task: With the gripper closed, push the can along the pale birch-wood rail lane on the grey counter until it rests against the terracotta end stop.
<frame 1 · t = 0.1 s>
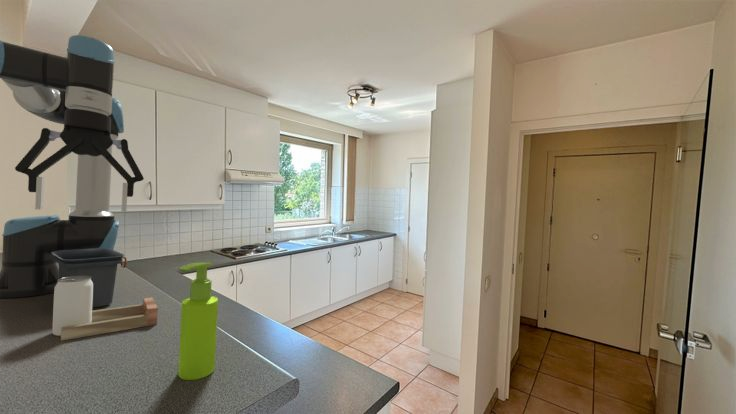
hand: (84, 210, 68), 28 cm above the countertop, fingers open, 13 cm apart
guide lane: (109, 324, 75), on the countertop
can: (72, 331, 71), on the countertop
soap dispenser: (194, 373, 57), on the countertop
storage bin: (90, 301, 91), on the countertop
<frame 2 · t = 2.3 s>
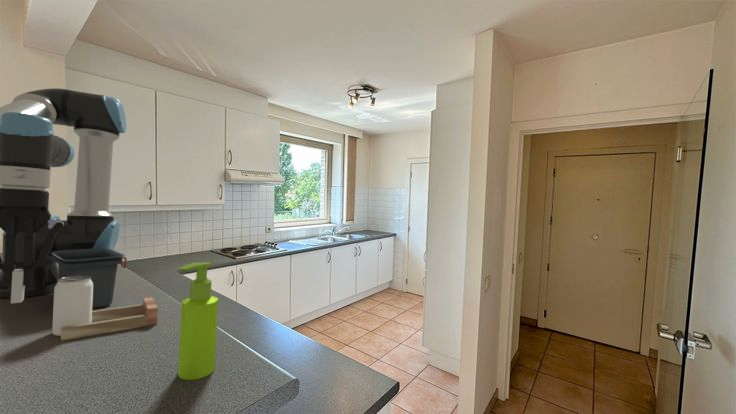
hand: (17, 301, 65), 8 cm above the countertop, fingers closed
nothing on the countertop moved.
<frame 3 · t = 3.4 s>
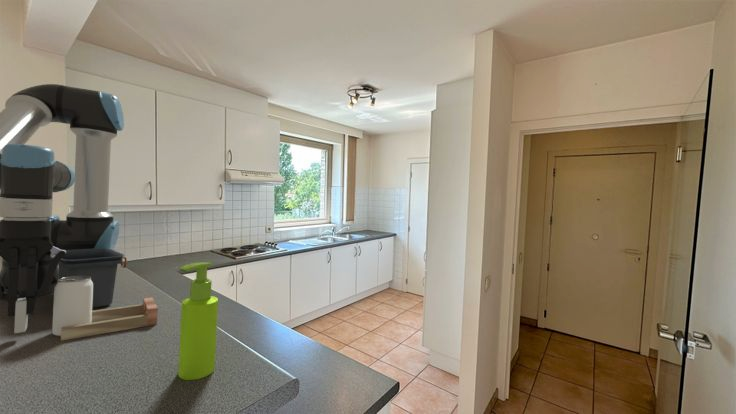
hand: (20, 330, 66), 2 cm above the countertop, fingers closed
nothing on the countertop moved.
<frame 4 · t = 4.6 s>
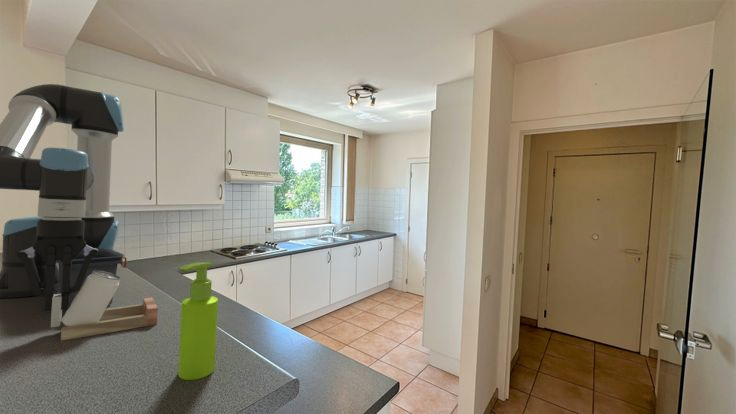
hand: (56, 324, 69), 2 cm above the countertop, fingers closed
can: (77, 325, 71), point 1 cm above the countertop, touching gripper
everything else where it was.
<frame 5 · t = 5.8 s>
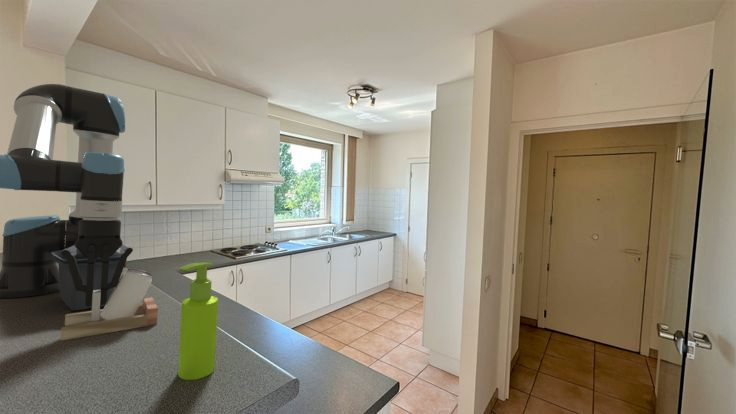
hand: (95, 318, 73), 2 cm above the countertop, fingers closed
can: (114, 320, 76), point 1 cm above the countertop, touching gripper, hand
everything else where it was.
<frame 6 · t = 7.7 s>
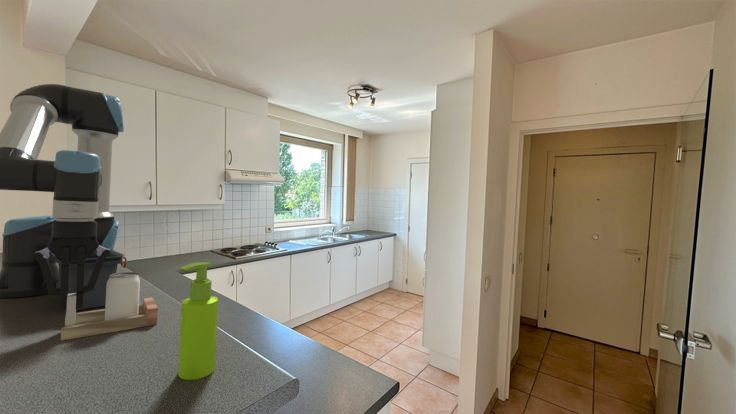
hand: (70, 323, 71), 2 cm above the countertop, fingers closed
can: (121, 324, 76), on the countertop
everything else where it was.
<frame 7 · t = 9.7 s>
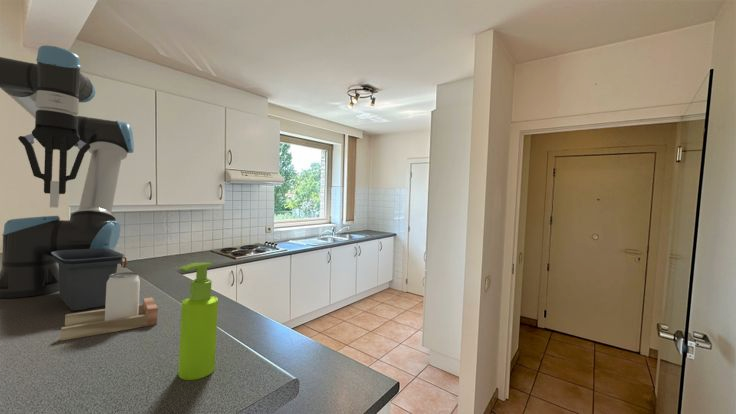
hand: (54, 206, 78), 28 cm above the countertop, fingers closed
nothing on the countertop moved.
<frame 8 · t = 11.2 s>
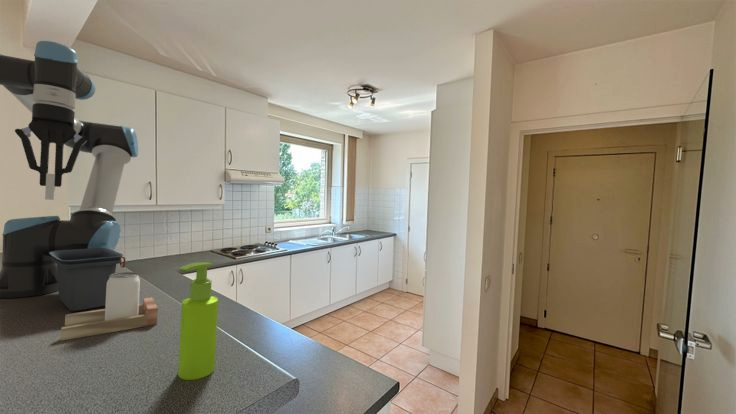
hand: (50, 199, 79), 29 cm above the countertop, fingers closed
storage bin: (89, 302, 90), on the countertop, touching arm
everything else where it was.
at the end: can 2.5 cm from the target spot, on the countertop; can tilted 0°; the gripper is holding nothing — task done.
